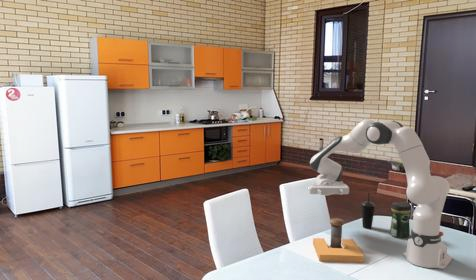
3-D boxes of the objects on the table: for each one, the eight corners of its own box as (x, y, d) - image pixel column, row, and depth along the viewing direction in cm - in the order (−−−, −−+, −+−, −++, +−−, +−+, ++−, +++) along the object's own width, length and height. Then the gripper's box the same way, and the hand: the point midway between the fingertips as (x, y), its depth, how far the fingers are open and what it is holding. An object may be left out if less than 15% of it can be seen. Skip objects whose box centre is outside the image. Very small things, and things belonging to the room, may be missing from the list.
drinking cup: (376, 227, 221) (378, 193, 219) (370, 230, 216) (372, 195, 213) (363, 224, 227) (365, 190, 224) (357, 227, 221) (359, 193, 218)
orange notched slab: (313, 243, 197) (313, 238, 196) (352, 244, 196) (353, 239, 196) (319, 260, 177) (319, 254, 177) (363, 262, 176) (364, 255, 176)
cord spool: (334, 246, 194) (335, 217, 192) (345, 250, 189) (346, 220, 187) (326, 249, 190) (327, 219, 188) (336, 253, 185) (338, 223, 183)
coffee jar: (402, 232, 214) (404, 199, 212) (412, 237, 206) (414, 203, 204) (387, 233, 211) (388, 200, 209) (396, 239, 204) (398, 204, 201)
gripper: (307, 181, 208) (310, 187, 195) (345, 181, 207) (351, 187, 194) (306, 192, 209) (310, 199, 195) (345, 192, 208) (351, 199, 194)
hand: (331, 193), depth 194 cm, fingers open, 8 cm apart
